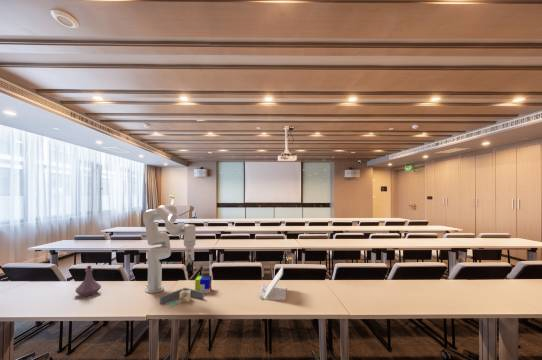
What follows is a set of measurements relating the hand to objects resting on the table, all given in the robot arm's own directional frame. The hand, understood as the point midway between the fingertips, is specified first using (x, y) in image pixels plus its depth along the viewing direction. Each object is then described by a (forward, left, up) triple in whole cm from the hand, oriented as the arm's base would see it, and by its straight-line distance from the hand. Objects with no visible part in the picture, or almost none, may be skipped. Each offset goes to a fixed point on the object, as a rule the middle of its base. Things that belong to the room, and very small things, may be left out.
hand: (189, 269), depth 189 cm
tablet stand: (+39, +43, -22) cm, 62 cm away
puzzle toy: (-7, +20, -22) cm, 30 cm away
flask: (-73, -27, -22) cm, 81 cm away
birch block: (-3, -1, -21) cm, 21 cm away
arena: (-4, -3, -21) cm, 22 cm away
